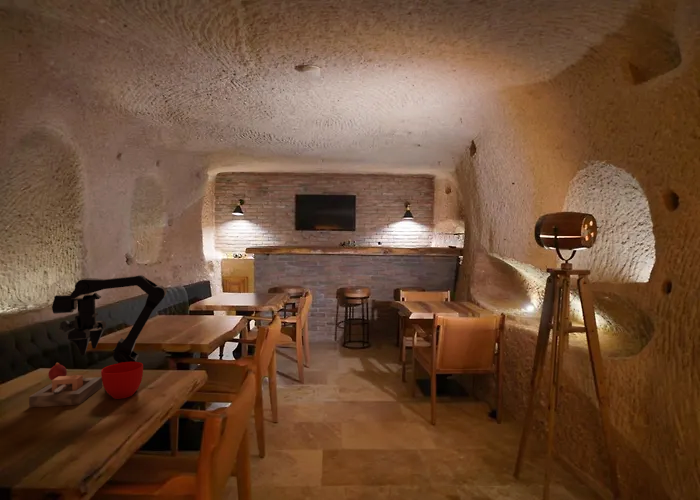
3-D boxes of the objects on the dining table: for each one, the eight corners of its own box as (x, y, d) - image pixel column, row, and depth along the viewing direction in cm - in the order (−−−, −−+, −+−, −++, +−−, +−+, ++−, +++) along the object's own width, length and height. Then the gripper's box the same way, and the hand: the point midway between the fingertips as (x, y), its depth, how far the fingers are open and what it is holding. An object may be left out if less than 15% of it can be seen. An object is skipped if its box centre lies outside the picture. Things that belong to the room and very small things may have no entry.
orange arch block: (83, 390, 144) (82, 375, 144) (77, 394, 140) (76, 379, 140) (59, 391, 143) (58, 376, 143) (52, 396, 139) (51, 380, 139)
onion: (52, 381, 157) (51, 361, 156) (69, 379, 158) (68, 359, 158) (46, 386, 151) (45, 365, 151) (63, 384, 153) (63, 364, 153)
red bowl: (157, 384, 152) (156, 358, 152) (128, 403, 135) (127, 374, 135) (125, 383, 153) (124, 357, 153) (93, 402, 136) (92, 373, 136)
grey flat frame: (102, 386, 150) (102, 377, 150) (79, 404, 135) (79, 393, 134) (57, 389, 148) (57, 379, 148) (29, 407, 133) (28, 396, 132)
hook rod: (80, 379, 148) (80, 374, 148) (58, 393, 135) (58, 389, 134) (76, 379, 148) (75, 375, 148) (53, 394, 134) (53, 389, 134)
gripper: (75, 308, 160) (77, 346, 161) (49, 317, 142) (51, 360, 143) (105, 306, 162) (107, 344, 163) (84, 315, 144) (86, 358, 145)
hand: (88, 351), depth 153 cm, fingers open, 9 cm apart
